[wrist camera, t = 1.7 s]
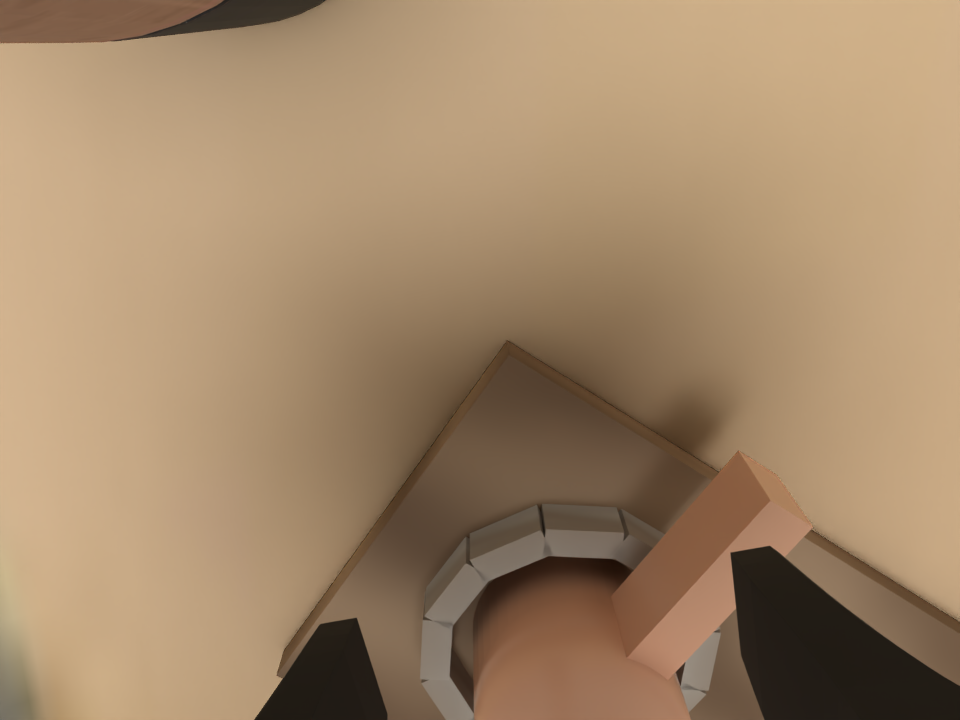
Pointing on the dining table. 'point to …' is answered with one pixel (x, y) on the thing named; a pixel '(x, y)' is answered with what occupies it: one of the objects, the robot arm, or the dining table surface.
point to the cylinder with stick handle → (624, 611)
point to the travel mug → (133, 18)
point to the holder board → (558, 544)
